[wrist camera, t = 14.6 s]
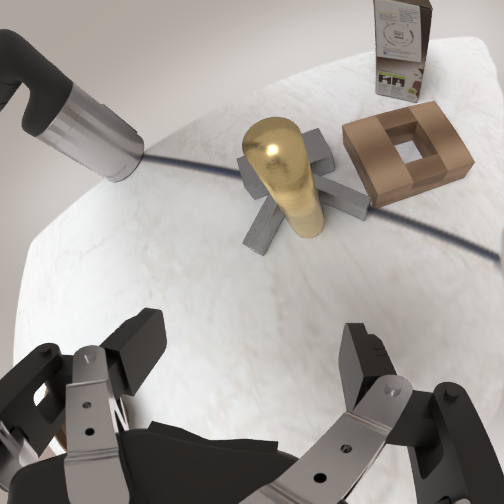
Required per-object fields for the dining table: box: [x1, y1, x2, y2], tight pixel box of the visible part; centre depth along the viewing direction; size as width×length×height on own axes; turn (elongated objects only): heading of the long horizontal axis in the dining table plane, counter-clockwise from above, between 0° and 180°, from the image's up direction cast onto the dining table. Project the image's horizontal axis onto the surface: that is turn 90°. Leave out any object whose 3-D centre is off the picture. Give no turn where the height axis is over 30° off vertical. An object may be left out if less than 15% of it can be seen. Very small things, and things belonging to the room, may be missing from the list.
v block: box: [237, 128, 371, 256], centre depth 30 cm, size 11×14×4 cm
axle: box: [242, 117, 324, 238], centre depth 23 cm, size 4×4×16 cm
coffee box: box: [373, 0, 433, 102], centre depth 23 cm, size 9×6×16 cm
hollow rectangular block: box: [342, 101, 475, 209], centre depth 26 cm, size 9×13×4 cm
